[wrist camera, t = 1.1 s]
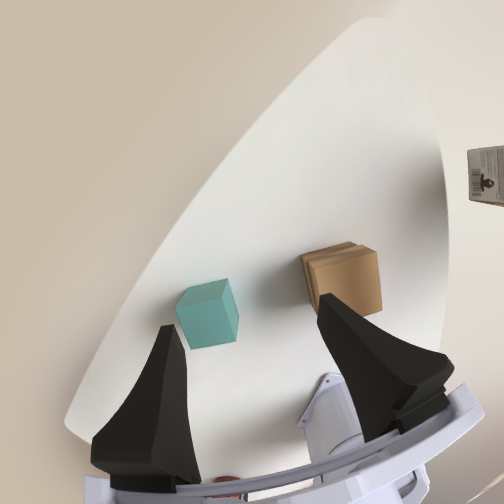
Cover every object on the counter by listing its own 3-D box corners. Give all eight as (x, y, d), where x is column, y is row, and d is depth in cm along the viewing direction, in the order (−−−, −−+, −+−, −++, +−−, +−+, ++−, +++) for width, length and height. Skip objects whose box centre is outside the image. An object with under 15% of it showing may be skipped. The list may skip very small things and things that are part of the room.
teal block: (201, 323, 26) (190, 349, 22) (188, 287, 26) (174, 308, 21) (239, 315, 26) (236, 341, 21) (227, 278, 25) (221, 297, 20)
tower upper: (317, 312, 23) (325, 328, 20) (306, 259, 22) (314, 269, 19) (368, 297, 23) (382, 310, 20) (361, 244, 22) (376, 252, 19)
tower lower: (310, 302, 26) (316, 315, 23) (300, 254, 25) (306, 262, 22) (357, 288, 26) (368, 299, 23) (349, 241, 25) (360, 247, 22)
